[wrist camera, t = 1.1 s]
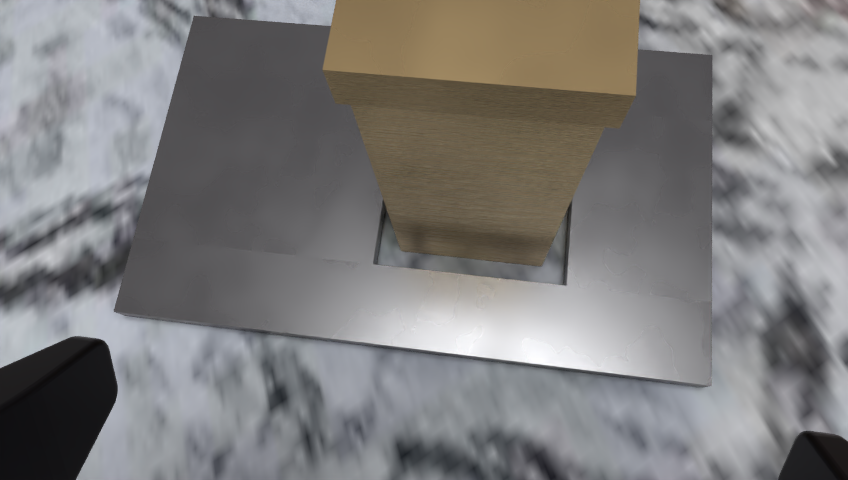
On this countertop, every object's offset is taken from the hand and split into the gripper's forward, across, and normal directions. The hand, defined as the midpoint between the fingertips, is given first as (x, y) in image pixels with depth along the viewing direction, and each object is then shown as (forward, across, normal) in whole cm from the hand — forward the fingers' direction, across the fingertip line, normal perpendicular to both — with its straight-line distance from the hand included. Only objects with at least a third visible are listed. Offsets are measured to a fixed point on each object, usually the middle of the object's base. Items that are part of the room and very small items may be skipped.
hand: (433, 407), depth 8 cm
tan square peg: (+15, 0, +4) cm, 16 cm away
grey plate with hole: (+15, +2, +4) cm, 16 cm away
